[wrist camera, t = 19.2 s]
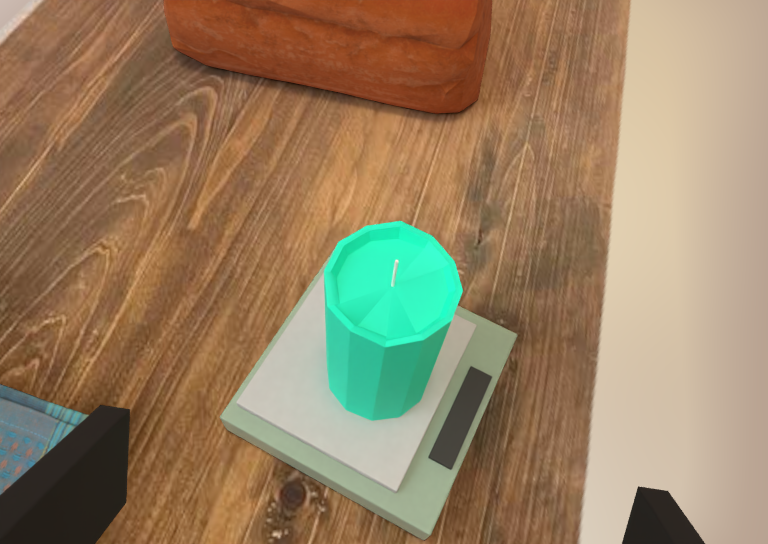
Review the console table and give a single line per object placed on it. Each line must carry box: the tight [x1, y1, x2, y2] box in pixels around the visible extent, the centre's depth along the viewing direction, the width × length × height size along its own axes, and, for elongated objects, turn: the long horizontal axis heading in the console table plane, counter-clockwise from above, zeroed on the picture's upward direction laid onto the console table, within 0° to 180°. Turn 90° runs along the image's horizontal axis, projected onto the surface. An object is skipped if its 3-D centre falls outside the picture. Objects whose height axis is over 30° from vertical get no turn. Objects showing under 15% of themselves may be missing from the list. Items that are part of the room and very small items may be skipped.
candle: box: [324, 221, 463, 421], centre depth 29 cm, size 6×6×12 cm
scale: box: [220, 247, 517, 540], centre depth 35 cm, size 13×13×3 cm
